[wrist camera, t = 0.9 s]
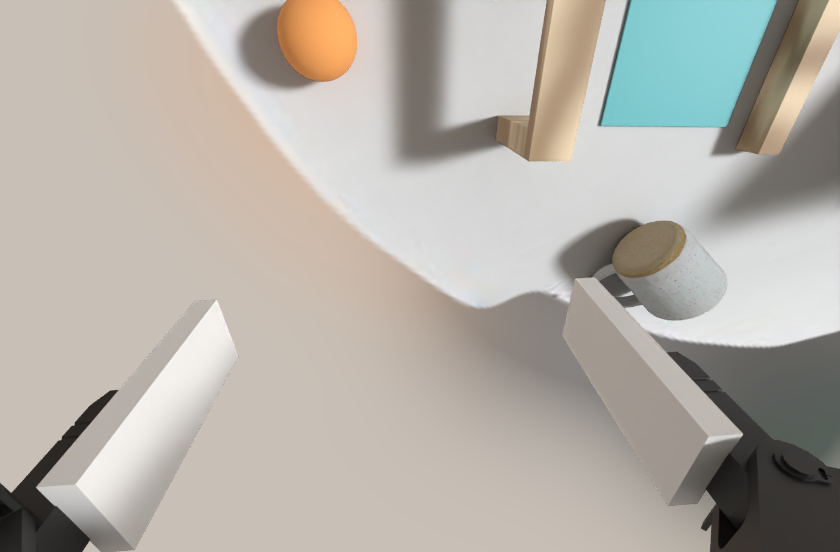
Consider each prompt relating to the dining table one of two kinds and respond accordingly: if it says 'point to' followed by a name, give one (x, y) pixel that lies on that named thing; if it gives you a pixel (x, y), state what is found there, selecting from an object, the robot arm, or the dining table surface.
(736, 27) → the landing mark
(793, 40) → the stopper
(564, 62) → the bridge
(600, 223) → the dining table surface
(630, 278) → the ceramic mug
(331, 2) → the ball
